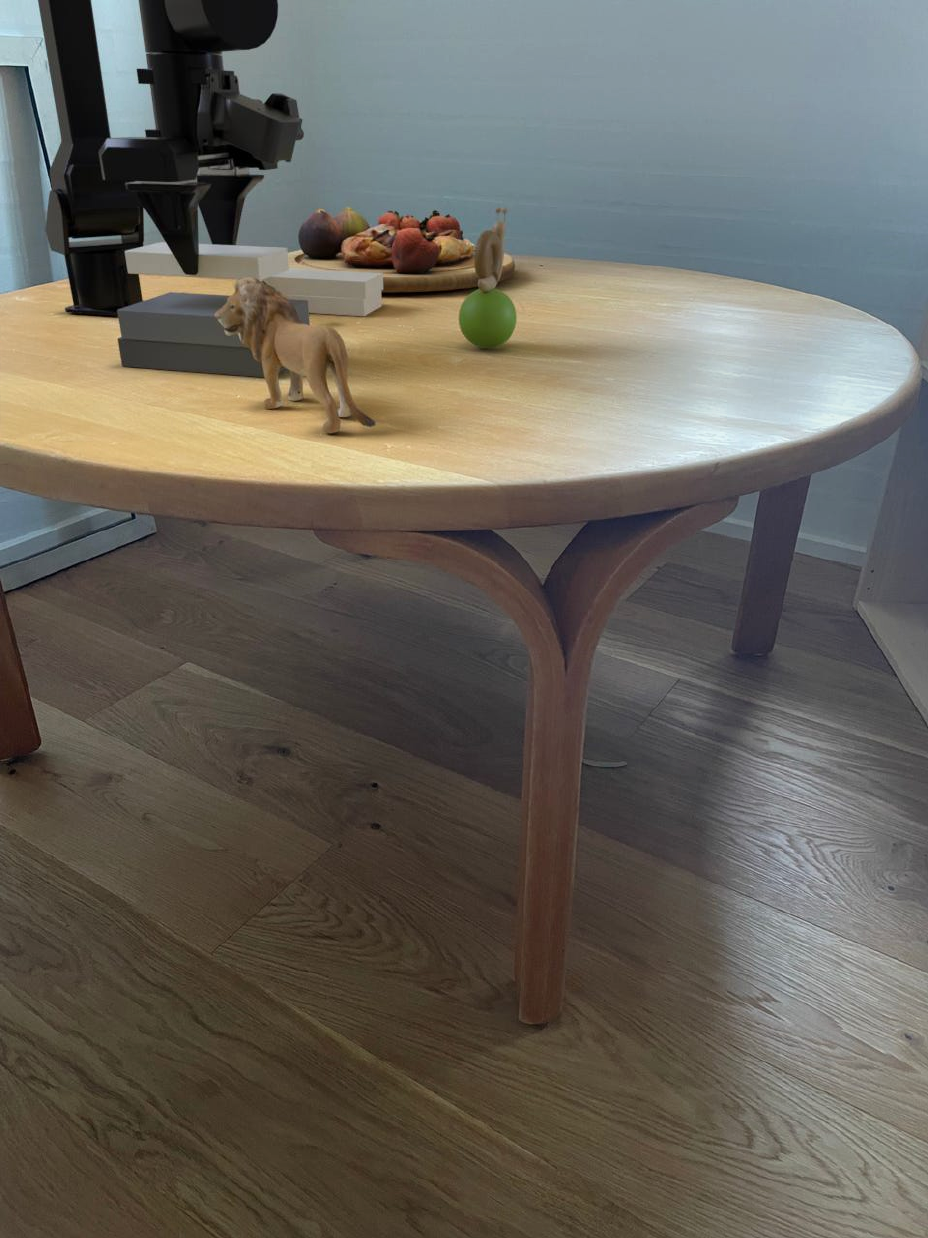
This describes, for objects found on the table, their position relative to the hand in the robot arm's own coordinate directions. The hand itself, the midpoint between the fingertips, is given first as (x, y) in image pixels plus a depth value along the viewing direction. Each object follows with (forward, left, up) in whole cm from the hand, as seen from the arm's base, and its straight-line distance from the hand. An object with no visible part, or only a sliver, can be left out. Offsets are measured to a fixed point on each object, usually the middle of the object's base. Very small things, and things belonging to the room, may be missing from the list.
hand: (209, 268), depth 79 cm
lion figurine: (+13, -13, -8) cm, 20 cm away
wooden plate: (+1, +49, -8) cm, 50 cm away
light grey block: (0, +25, -8) cm, 26 cm away
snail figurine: (+22, +12, -8) cm, 26 cm away
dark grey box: (0, 0, -8) cm, 8 cm away
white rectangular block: (0, 0, 0) cm, 0 cm away
